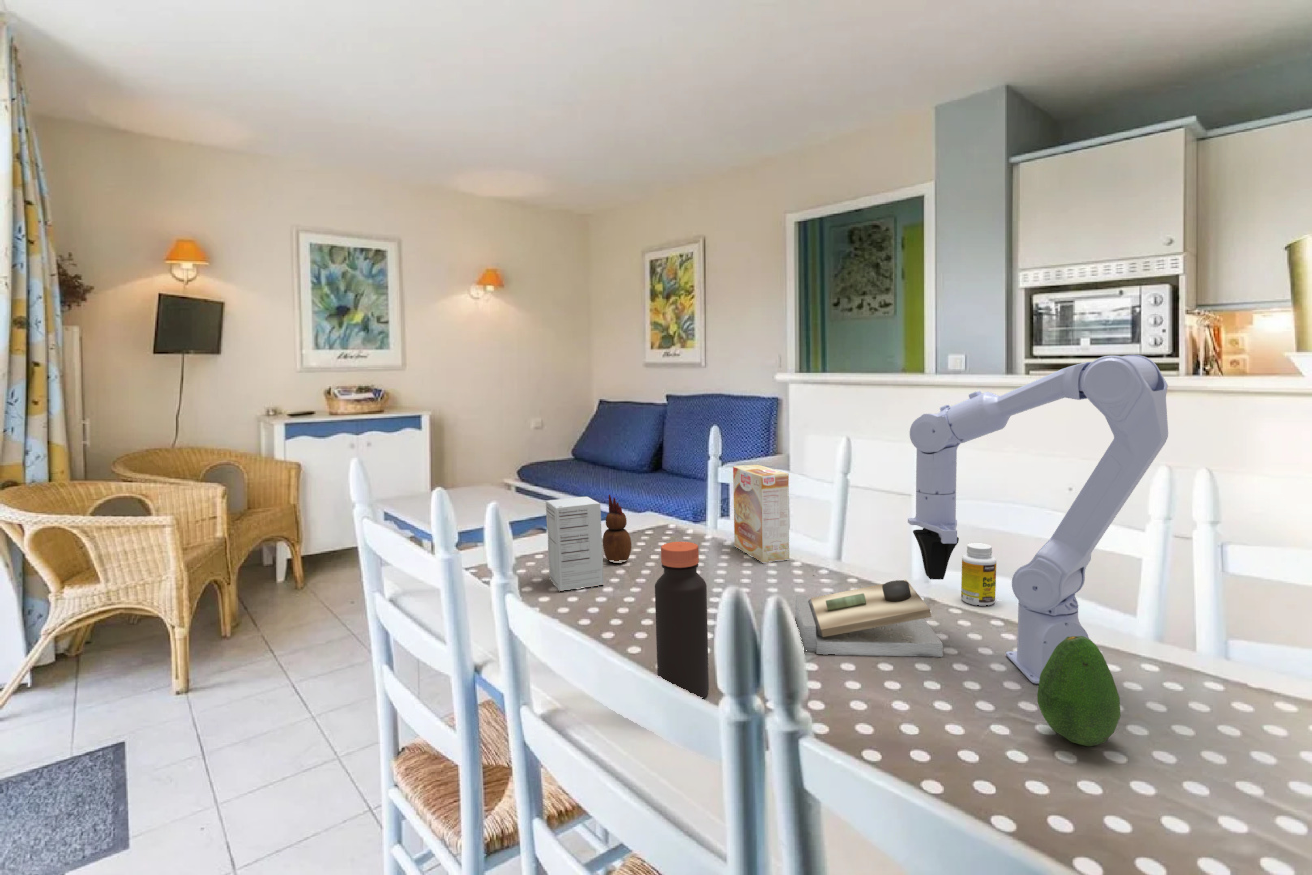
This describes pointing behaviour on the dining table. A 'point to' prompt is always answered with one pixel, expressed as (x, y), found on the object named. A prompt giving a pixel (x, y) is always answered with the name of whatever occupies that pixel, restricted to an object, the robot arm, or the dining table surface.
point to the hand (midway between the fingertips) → (934, 577)
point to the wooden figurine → (616, 534)
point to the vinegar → (682, 619)
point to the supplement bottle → (978, 575)
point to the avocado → (1079, 693)
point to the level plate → (867, 608)
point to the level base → (869, 637)
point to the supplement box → (574, 542)
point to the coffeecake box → (761, 512)
